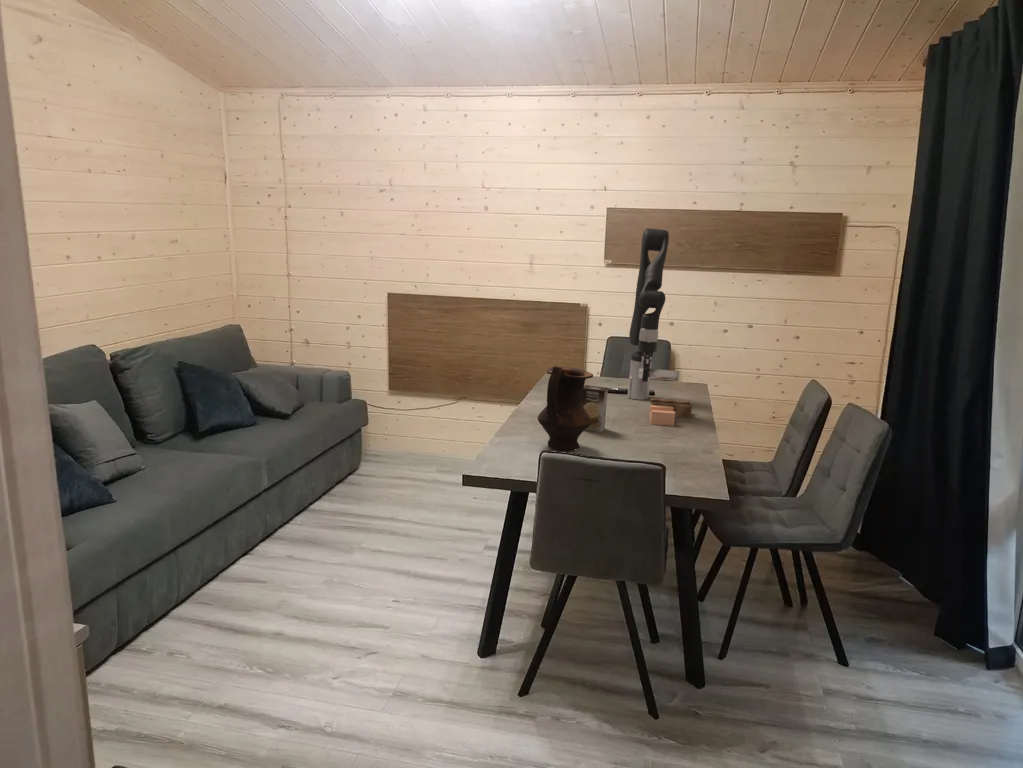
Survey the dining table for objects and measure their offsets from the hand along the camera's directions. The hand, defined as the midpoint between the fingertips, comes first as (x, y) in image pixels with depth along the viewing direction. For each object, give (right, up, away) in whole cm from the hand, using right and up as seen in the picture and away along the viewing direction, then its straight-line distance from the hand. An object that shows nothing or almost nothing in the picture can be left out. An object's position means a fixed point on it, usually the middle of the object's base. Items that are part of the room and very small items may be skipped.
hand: (644, 380), depth 301 cm
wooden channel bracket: (+11, -14, +2) cm, 18 cm away
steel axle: (+5, 0, -1) cm, 6 cm away
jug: (-38, -24, -51) cm, 68 cm away
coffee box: (-25, -19, -26) cm, 40 cm away
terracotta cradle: (+5, -17, -11) cm, 20 cm away
